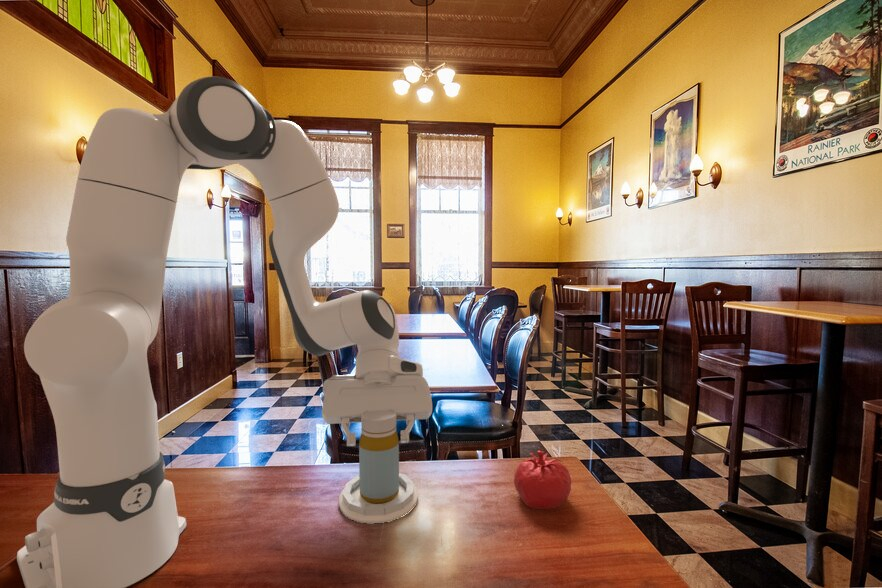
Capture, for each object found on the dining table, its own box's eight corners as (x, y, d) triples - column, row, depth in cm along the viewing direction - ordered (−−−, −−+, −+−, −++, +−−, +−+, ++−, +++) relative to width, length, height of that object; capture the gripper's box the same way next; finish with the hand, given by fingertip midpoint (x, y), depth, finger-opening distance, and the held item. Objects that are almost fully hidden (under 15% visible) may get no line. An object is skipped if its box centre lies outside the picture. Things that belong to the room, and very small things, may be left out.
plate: (322, 509, 73) (321, 497, 73) (371, 472, 85) (371, 462, 85) (388, 534, 66) (388, 521, 66) (431, 490, 79) (431, 479, 78)
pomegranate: (578, 516, 71) (581, 465, 70) (520, 517, 71) (522, 465, 70) (559, 483, 81) (561, 438, 80) (508, 484, 81) (509, 438, 80)
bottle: (392, 507, 72) (392, 423, 70) (353, 503, 73) (352, 419, 71) (403, 485, 78) (403, 408, 77) (367, 482, 80) (367, 405, 78)
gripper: (322, 367, 79) (315, 440, 70) (429, 364, 82) (436, 433, 73) (325, 383, 84) (319, 453, 75) (427, 379, 87) (432, 446, 78)
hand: (378, 443), depth 74 cm, fingers open, 8 cm apart
